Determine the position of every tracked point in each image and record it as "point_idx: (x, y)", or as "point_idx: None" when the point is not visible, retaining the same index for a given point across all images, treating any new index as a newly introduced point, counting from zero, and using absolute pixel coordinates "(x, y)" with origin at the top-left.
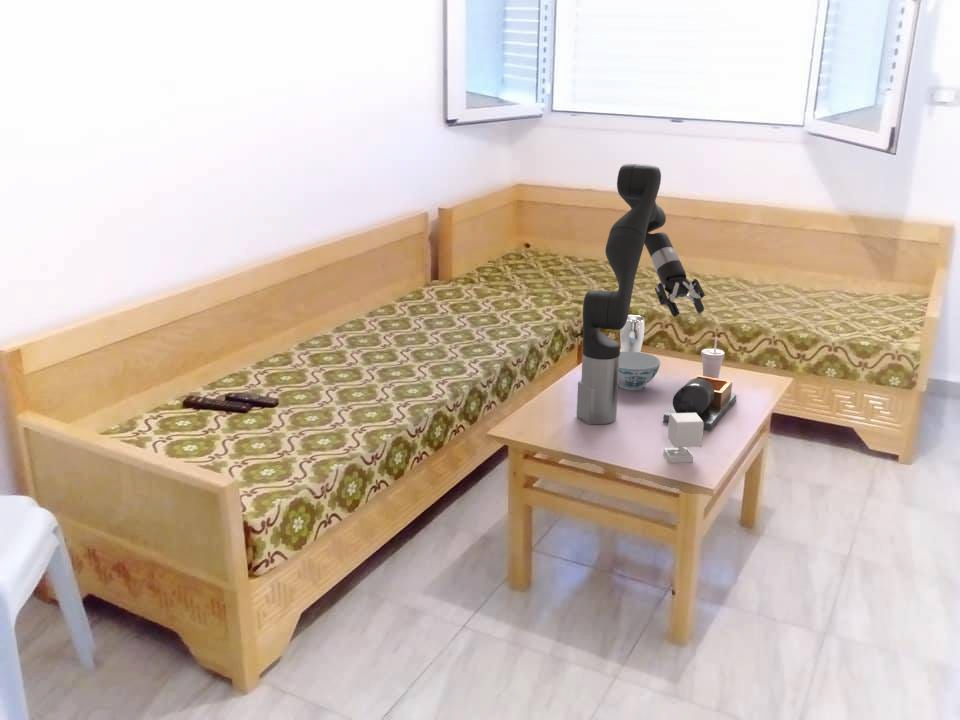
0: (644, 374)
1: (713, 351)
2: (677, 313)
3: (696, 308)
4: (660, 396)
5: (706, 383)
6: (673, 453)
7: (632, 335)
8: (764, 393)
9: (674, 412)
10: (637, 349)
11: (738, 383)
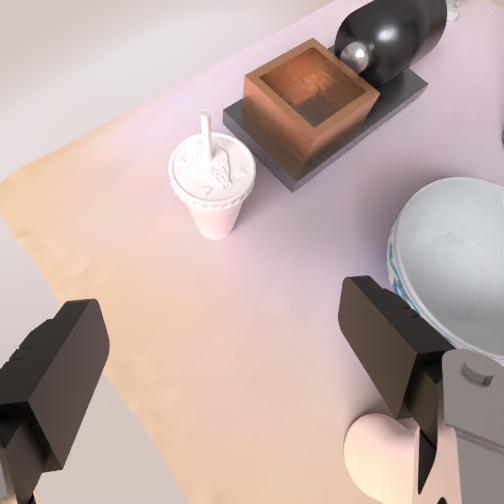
0: (453, 190)
1: (213, 161)
2: (365, 276)
3: (91, 387)
4: (376, 198)
5: (372, 3)
6: None
7: None
8: (127, 133)
9: (404, 83)
10: (410, 432)
11: (137, 204)
